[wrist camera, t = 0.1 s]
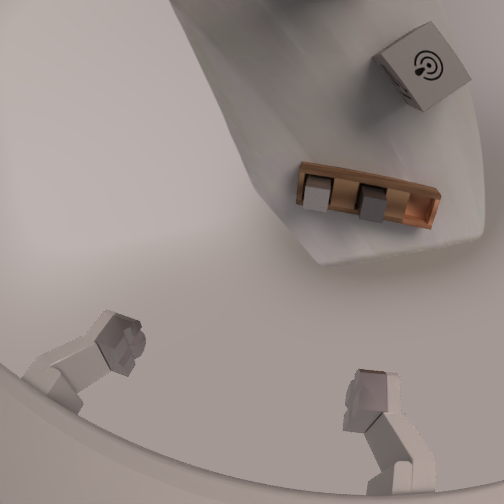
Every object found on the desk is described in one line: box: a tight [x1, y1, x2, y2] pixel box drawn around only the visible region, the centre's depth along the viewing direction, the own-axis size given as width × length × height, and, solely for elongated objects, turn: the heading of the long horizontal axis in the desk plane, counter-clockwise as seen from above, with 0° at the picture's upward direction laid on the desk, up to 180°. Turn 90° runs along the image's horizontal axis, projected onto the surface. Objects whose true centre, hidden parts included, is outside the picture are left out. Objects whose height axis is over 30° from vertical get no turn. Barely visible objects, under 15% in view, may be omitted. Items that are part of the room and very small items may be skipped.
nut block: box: [303, 174, 331, 213], centre depth 51 cm, size 4×4×7 cm
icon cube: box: [372, 21, 471, 112], centre depth 34 cm, size 10×10×10 cm
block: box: [357, 183, 387, 223], centre depth 49 cm, size 4×4×7 cm
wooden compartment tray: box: [296, 162, 441, 230], centre depth 52 cm, size 7×26×4 cm, turn 88°
